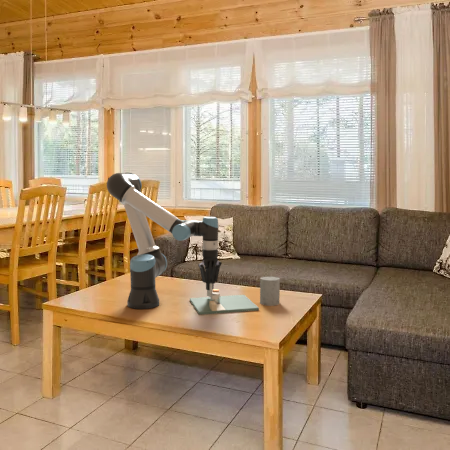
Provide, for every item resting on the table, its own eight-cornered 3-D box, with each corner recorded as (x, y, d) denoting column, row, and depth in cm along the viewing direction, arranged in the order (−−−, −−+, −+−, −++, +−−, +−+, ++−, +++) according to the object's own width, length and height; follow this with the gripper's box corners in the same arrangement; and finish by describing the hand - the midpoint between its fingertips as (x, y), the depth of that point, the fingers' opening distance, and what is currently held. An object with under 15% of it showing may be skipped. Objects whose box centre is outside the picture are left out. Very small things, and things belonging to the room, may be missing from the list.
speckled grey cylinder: (265, 306, 232) (265, 281, 231) (256, 301, 241) (256, 276, 239) (283, 304, 236) (283, 279, 234) (273, 299, 244) (274, 275, 243)
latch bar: (219, 304, 230) (219, 295, 230) (210, 304, 231) (210, 295, 230) (220, 296, 245) (220, 288, 244) (211, 296, 245) (211, 288, 244)
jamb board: (199, 314, 219) (199, 305, 218) (189, 300, 242) (189, 292, 242) (258, 310, 226) (258, 301, 225) (244, 297, 249) (244, 288, 248)
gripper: (203, 251, 231) (203, 299, 234) (225, 248, 239) (224, 295, 242) (194, 248, 237) (194, 296, 240) (216, 246, 245) (215, 292, 248)
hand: (209, 296), depth 241 cm, fingers closed
